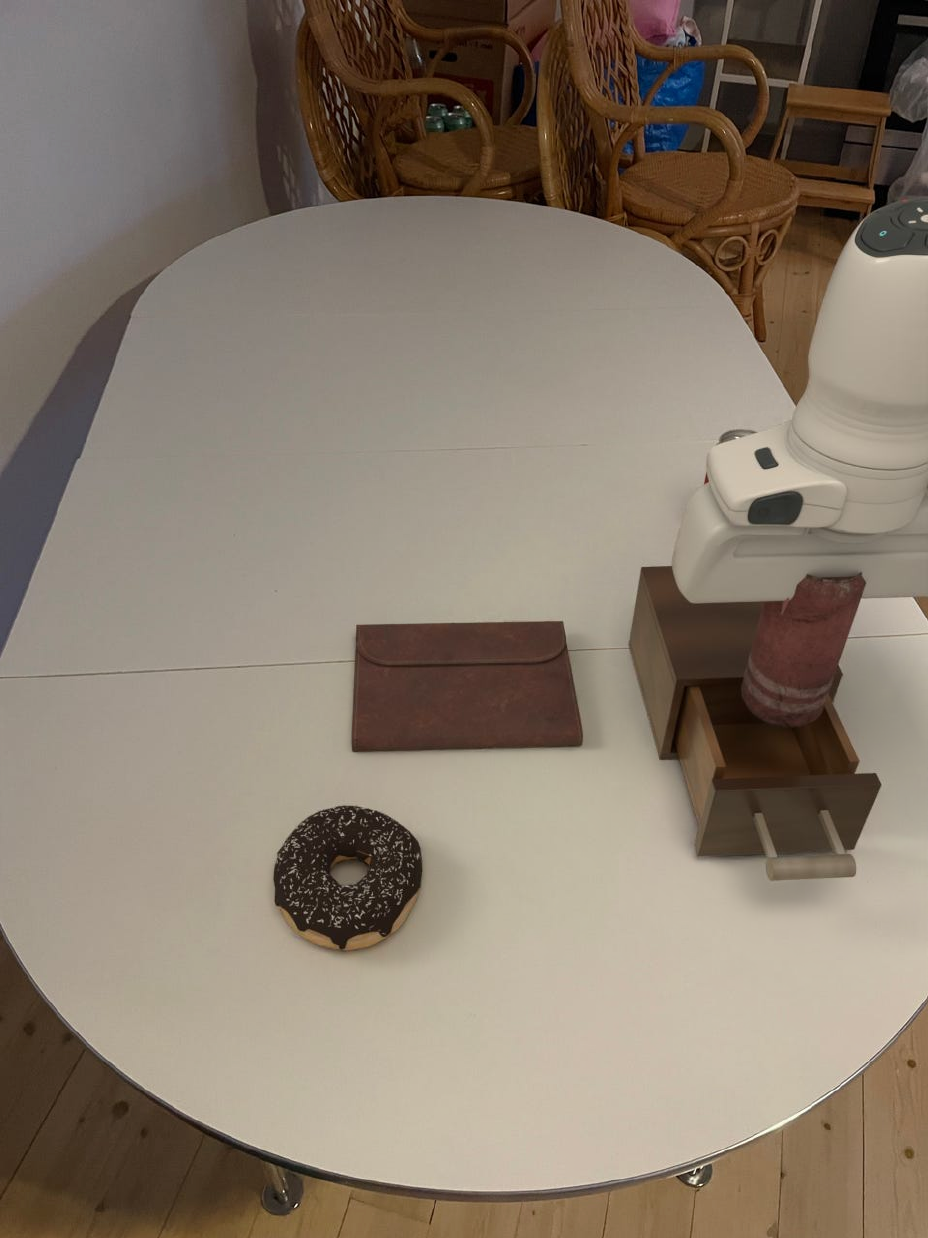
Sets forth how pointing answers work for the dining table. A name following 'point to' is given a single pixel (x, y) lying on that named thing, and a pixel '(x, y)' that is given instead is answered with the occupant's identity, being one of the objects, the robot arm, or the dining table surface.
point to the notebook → (463, 686)
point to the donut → (355, 908)
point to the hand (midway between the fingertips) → (802, 636)
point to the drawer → (772, 785)
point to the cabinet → (687, 648)
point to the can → (800, 650)
